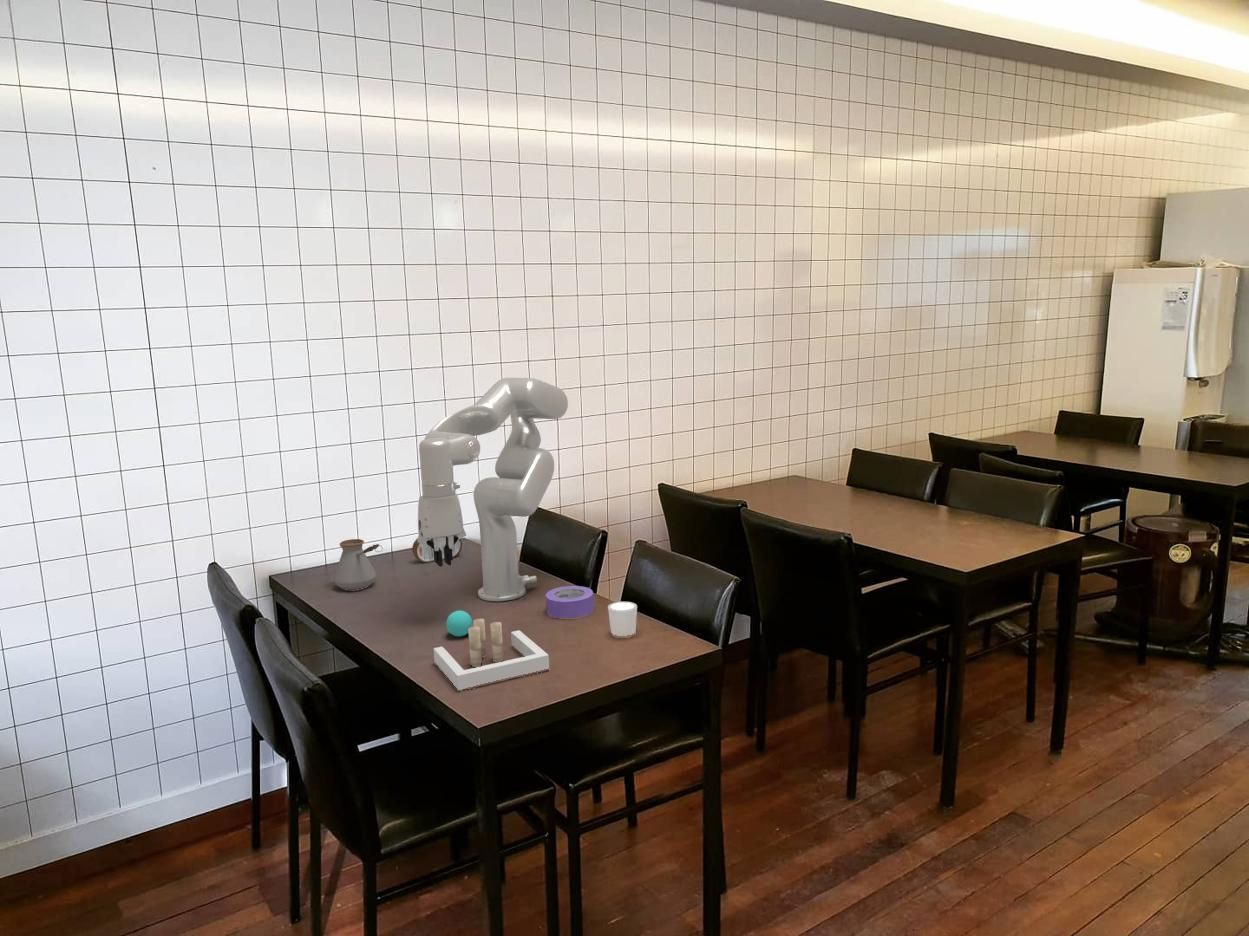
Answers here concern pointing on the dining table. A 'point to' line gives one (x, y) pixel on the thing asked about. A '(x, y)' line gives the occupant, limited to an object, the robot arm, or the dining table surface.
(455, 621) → the ball
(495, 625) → the pin
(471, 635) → the pin
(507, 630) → the dining table surface
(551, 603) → the tape roll
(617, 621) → the white cup
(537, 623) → the dining table surface
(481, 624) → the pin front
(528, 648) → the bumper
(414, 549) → the tin
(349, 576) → the coffee pot
